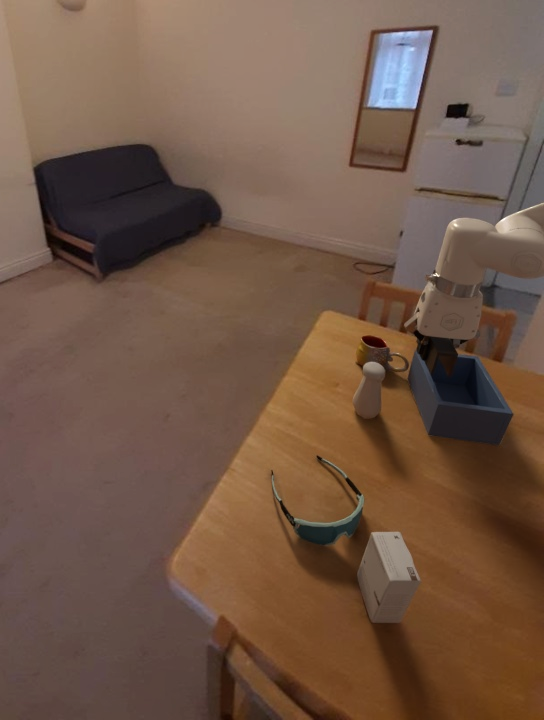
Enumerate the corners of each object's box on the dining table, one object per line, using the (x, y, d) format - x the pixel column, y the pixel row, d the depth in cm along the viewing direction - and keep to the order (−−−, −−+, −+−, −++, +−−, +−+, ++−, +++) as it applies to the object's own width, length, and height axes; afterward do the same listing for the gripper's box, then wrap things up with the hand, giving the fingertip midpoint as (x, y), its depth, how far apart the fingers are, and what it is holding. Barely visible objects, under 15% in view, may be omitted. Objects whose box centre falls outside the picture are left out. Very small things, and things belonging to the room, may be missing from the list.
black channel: (434, 343, 88) (440, 322, 86) (450, 376, 79) (458, 354, 77) (416, 341, 89) (422, 320, 86) (430, 374, 80) (437, 351, 78)
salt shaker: (370, 427, 85) (381, 381, 80) (345, 410, 90) (354, 366, 84) (384, 412, 89) (395, 367, 83) (359, 396, 93) (368, 353, 87)
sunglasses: (304, 561, 64) (304, 538, 62) (261, 482, 78) (261, 462, 76) (378, 531, 67) (381, 509, 66) (325, 461, 81) (326, 441, 79)
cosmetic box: (355, 574, 62) (367, 529, 57) (384, 574, 62) (399, 528, 57) (371, 626, 57) (387, 581, 51) (403, 626, 57) (422, 580, 51)
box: (467, 385, 94) (478, 356, 91) (499, 445, 81) (513, 414, 77) (407, 378, 97) (414, 349, 93) (427, 435, 83) (438, 404, 79)
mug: (350, 362, 103) (354, 341, 100) (362, 348, 107) (366, 328, 104) (399, 386, 95) (405, 365, 92) (410, 371, 99) (416, 350, 96)
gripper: (413, 289, 74) (394, 364, 83) (516, 298, 71) (485, 375, 79) (402, 269, 81) (385, 340, 89) (496, 276, 78) (470, 349, 86)
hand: (433, 356), depth 84 cm, fingers closed on black channel, 3 cm apart
